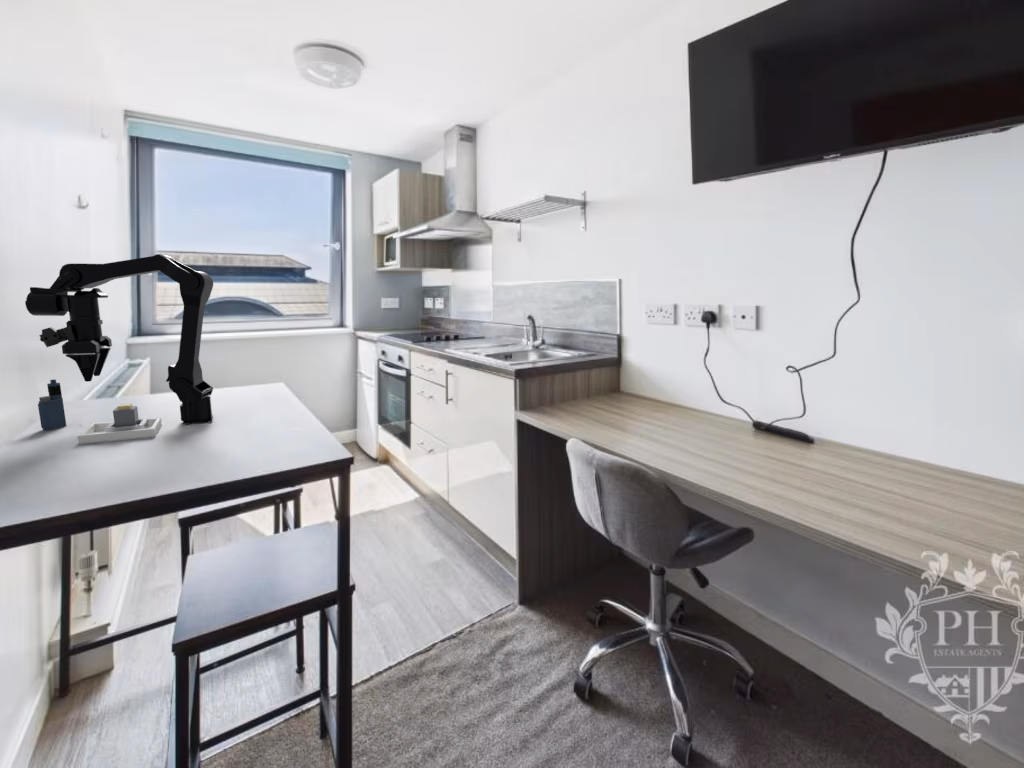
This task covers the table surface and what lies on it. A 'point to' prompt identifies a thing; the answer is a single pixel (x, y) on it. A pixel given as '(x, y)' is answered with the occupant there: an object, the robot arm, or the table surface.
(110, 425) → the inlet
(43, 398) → the vaping device
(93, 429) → the walled tray
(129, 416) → the block
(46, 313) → the robot arm
